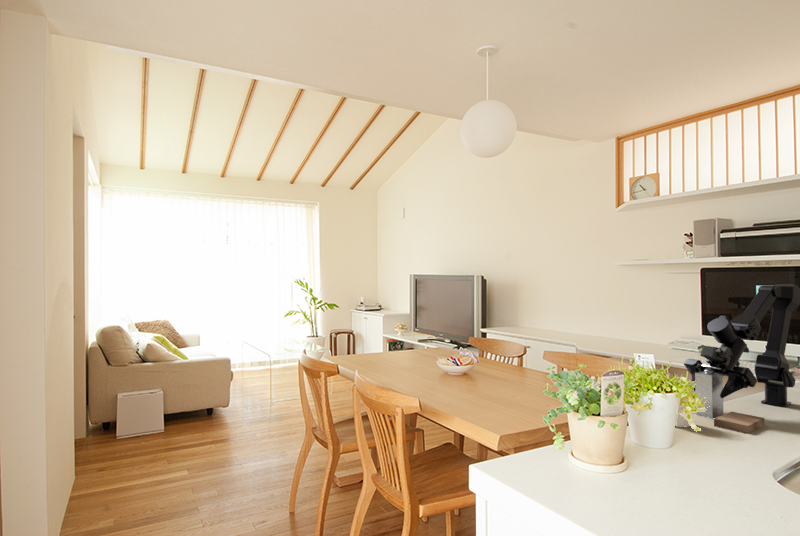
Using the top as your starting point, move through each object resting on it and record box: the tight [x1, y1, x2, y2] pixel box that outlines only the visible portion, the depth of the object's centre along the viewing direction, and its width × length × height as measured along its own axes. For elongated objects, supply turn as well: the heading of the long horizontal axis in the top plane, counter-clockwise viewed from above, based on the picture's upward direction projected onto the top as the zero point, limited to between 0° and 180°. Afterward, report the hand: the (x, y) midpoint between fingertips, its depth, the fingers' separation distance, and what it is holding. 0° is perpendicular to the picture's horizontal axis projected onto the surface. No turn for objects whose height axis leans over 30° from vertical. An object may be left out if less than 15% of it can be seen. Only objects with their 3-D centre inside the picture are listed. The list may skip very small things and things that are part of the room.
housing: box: [694, 369, 725, 420], centre depth 143 cm, size 5×5×14 cm
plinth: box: [713, 411, 766, 434], centre depth 134 cm, size 12×8×2 cm, turn 126°
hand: (706, 393), depth 143 cm, fingers open, 8 cm apart
